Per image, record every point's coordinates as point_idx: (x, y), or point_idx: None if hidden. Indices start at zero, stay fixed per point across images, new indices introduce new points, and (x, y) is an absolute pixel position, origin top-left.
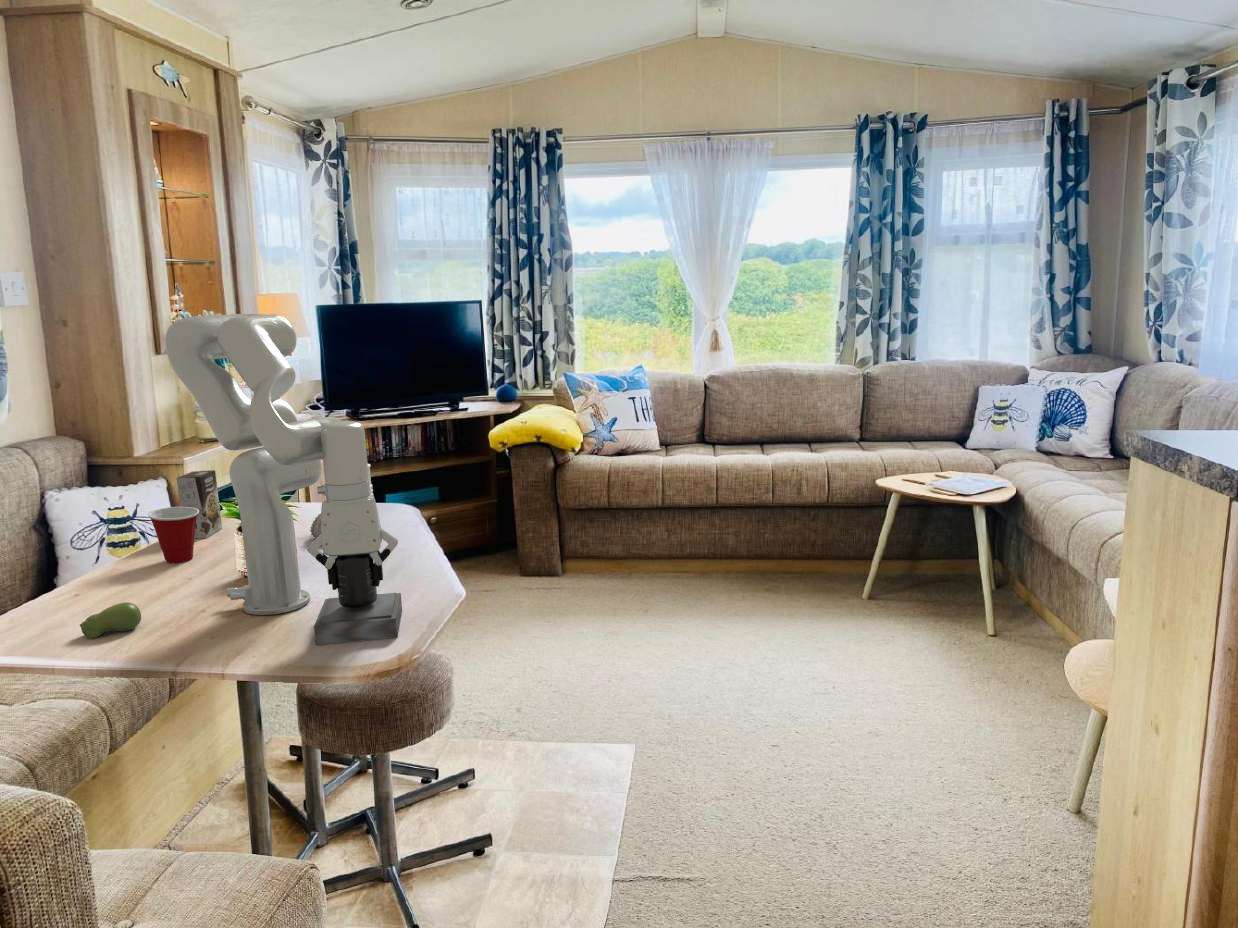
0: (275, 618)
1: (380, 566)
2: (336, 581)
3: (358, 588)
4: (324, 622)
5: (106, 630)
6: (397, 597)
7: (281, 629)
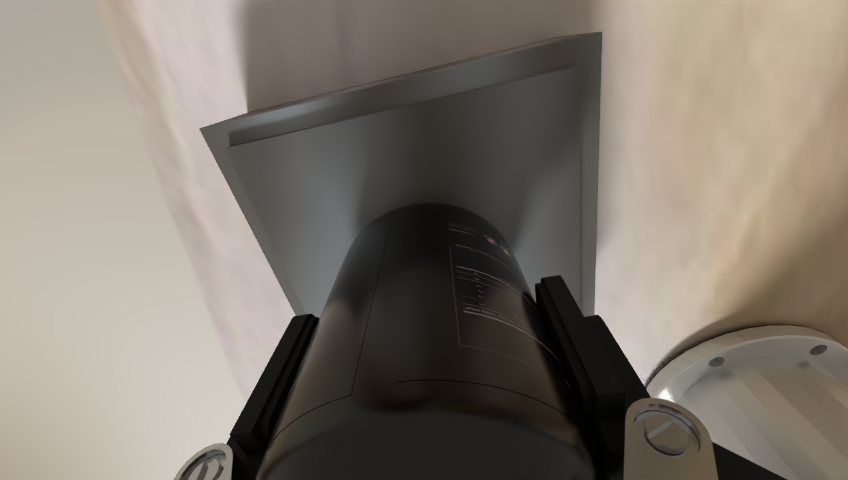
0: (740, 304)
1: (232, 439)
2: (548, 329)
3: (378, 256)
4: (548, 71)
5: None
6: None
7: (719, 214)
